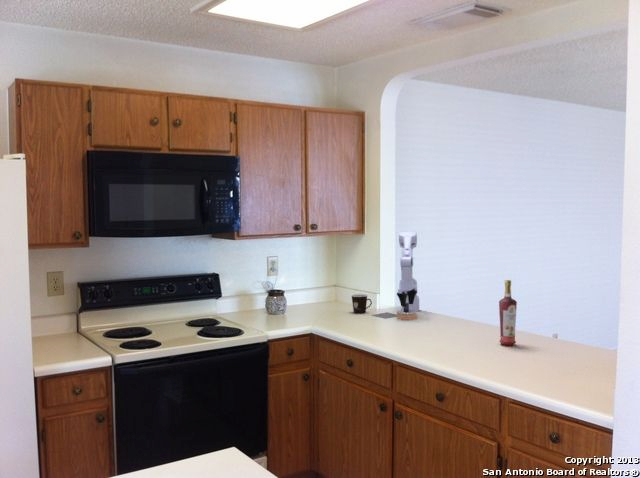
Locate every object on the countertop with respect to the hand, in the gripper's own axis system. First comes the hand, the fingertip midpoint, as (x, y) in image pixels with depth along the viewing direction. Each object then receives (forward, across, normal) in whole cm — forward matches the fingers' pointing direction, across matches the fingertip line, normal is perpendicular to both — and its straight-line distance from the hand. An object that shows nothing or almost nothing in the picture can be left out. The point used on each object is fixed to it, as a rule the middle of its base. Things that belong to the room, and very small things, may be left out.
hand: (407, 305), depth 327 cm
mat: (+7, +1, -13) cm, 15 cm away
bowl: (+7, 0, 0) cm, 7 cm away
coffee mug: (+8, +3, -28) cm, 29 cm away
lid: (+4, 0, 0) cm, 4 cm away
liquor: (+7, +21, +64) cm, 68 cm away
